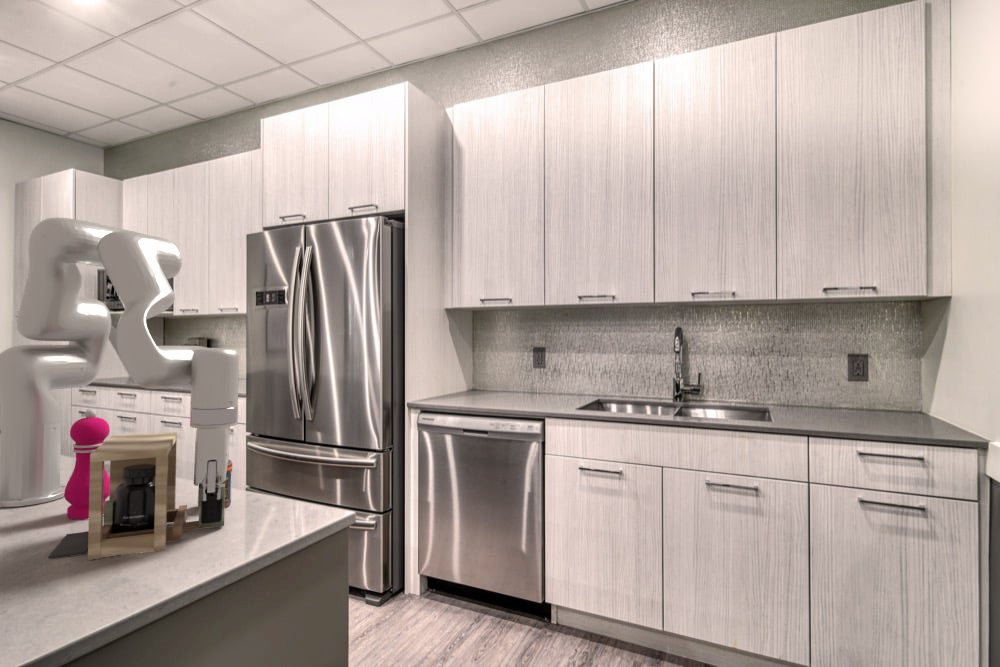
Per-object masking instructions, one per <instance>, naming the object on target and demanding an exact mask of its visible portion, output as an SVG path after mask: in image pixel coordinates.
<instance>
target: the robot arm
mask: <svg viewBox="0 0 1000 667" xmlns="http://www.w3.org/2000/svg"><path fill="white" fill-rule="evenodd" d="M28 260H29V261H28V264H29V266H28V274H27V277H26V278H27V279H26V281H25V284H24V285H25V286H24V290H23V294H22V297H21V302H20V306H19V310H18V314H17V320H16V326H17V330H18V333H19V334H20V335H21V337H24V338H26V339H27V340H33V341H39V342H68V344H23V345H22V344H21V345H16V346H13V347H9V348H6V349H5V350H3V351H1V352H0V508H13V507H23V506H32V505H33V506H34V505H39V504H43V503H48V502H51V501H52V502H53V501H56V500H57V499H61V498H65V497H64V493H65V488H66V485H65V484H60V482H61V480H60V479H61V452H62V451H61V450H62V449H61V446H62V440H61V439H62V410H61V406H60V405H59V403H58V402H57V400H56V399H55V398H54V396H52V394H51V392H50V391H53V390H63V389H64V390H65V389H74V388H76V389H77V388H83V387H86V386H88V385H91V383H93V382H94V381H95V380H96V379H97V378H98V375H99V372H100V370H101V367H102V363H103V360H104V356H105V352H106V348H107V344H108V343H109V342H108V340H109V339H110V338H109V337H110V334H111V331H112V330H111V329H112V317H111V312H110V309H109V308H108V306H107V305H106V304H105V302H102V301H101V300H98V299H96V298H93V297H92V298H91V297H83V296H82V297H80V295H79V294H80V291H81V288H82V285H83V277H82V274H81V271H80V269H79V267H78V264H81V265H86V266H88V265H89V266H93V267H94V266H95V267H100V268H101V267H102V268H103V269H104V270H105V272H106V274H107V276H108V278H109V281H110V282H111V284H112V286H113V289H114V290H115V292H116V294H117V297H118V299H119V301H120V302H121V304H122V306H123V308H124V310H123V312H122V314H121V315H120V318H119V319H118V322H117V325H116V333H115V344H116V345H115V346H116V350H117V353H118V356H119V357H120V359H121V361H122V364H123V365H124V367H125V369H126V371H127V373H128V374H129V376H130V378H131V379H132V380H133V381H134V382H135V383H136V384H137V385H138V386H140V387H141V388H144V389H148V390H157V389H158V390H159V389H169V388H170V389H171V388H172V389H173V388H182V387H183V388H184V387H190V415H189V416H190V418H189V427H190V428H193V429H196V431H195V441H194V464H193V465H194V468H193V485H194V486H196V487H199V484H201V483H202V481H203V500H202V503H201V523H202V524H206V523H215V522H220V521H221V520H222V498H221V484H222V483H223V482H224V481H225V478H226V473H227V466H228V459H230V458H229V457H230V455H229V454H230V440H231V439H230V438H231V427H233V426H236V425H238V420H239V418H238V417H239V416H238V412H239V411H238V410H239V376H240V375H239V373H240V372H239V370H240V356H239V352H238V351H237V350H235V349H234V348H228V347H226V348H225V347H223V348H222V347H206V346H201V345H157V344H156V342H155V341H154V339H153V338H152V335H151V333H150V331H149V329H148V326H147V325H148V324H147V320H148V319H151V318H154V317H156V316H159V315H160V314H162V313H164V312H165V311H167V310H168V309H169V308H170V307H171V306H172V305H173V304H174V303H175V300H176V295H175V291H174V290H173V289H172V286H171V285H170V283H169V279H172V278H174V277H176V276H177V275H178V274H179V272H180V271H181V268H182V266H183V265H182V264H183V262H182V260H183V258H182V254H181V252H180V250H179V248H178V247H177V246H176V244H175V243H173V242H172V241H170V240H169V239H167V238H164V237H160V236H154V235H149V234H144V233H140V232H136V231H132V230H129V229H123V228H119V227H115V226H114V227H113V226H108V225H103V224H100V223H95V222H91V221H86V220H82V219H75V218H69V217H68V218H67V217H49V218H46V219H42V220H41V221H39V222H38V224H36V225H35V226H34V227H33V229H32V230H31V233H30V236H29V238H28ZM216 486H218V488H217V487H216Z"/></svg>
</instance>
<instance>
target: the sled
mask: <svg viewBox="0 0 1000 667" xmlns="http://www.w3.org/2000/svg"><path fill="white" fill-rule="evenodd" d="M216 487H217V488H218V486H216ZM198 490H199V507H198V520H194V521H187V518H188V515H187V514H188V505H187V504H184V505H179V506H178V508H175V509H170V510H167V523H166V524H168V523H173V524H172V526H166V543H167V542H168V543H170V542H178V541H181V540H182V536H183V533H184V531H190V530H200V529H207V528H216V527H217V528H218V527H224V526H225V516H226V515H225V512H226V511H225V509H226V507H225V484H221V498H222V520H221V521H220V522H215V523H206V524H202V523H201V503H202V500H203V486H200V489H199V488H198ZM105 501H106V502H105V503H104V515H103V537H102V540H104V539H112V538H121V537H129V536H137V535H145V534H153V533H154V529H150V530H142V531H133V532H125V533H116V534H113V520H114V500H109V499H108V500H107V499H106V500H105Z"/></svg>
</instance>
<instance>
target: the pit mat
mask: <svg viewBox="0 0 1000 667" xmlns="http://www.w3.org/2000/svg"><path fill="white" fill-rule="evenodd" d="M86 552H87V553H88V531H82V532H75V533H74V532H72V533H67V534H66V535H65V536H64V537H63V538H62V539H61V540H60V542H58V543H57V545H56V546H55V547H54V549H52V551H51V552H50V554H48V558H52V559H57V558H56V557H60V558H64V557H63V556H67V557H72V556H71V555H75V556H78V555H77V554H83V555H86V554H87V553H86ZM48 558H47V559H48Z"/></svg>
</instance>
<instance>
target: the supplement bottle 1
mask: <svg viewBox="0 0 1000 667" xmlns="http://www.w3.org/2000/svg"><path fill="white" fill-rule="evenodd" d="M155 477H156V465H154V464H138V465H131V466H127V467H125V468H123V476H122V480H124V482H123V483H122V484H120V485H119V486H118V487H117V488H116V490H115V498H114V520H113V534H116V533H125V532H133V531H142V530H150V529H154V521H155Z"/></svg>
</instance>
